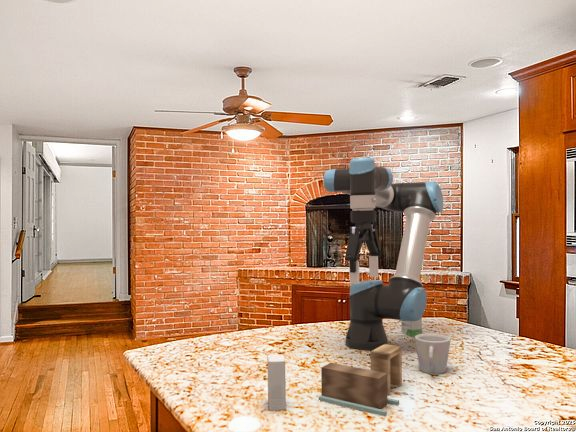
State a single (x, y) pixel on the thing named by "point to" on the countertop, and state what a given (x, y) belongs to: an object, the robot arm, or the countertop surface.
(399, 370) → the wooden arch block
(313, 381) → the countertop surface
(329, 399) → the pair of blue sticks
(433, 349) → the mug
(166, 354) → the countertop surface
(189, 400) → the countertop surface
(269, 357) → the skincare box
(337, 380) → the brown wooden block
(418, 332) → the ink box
